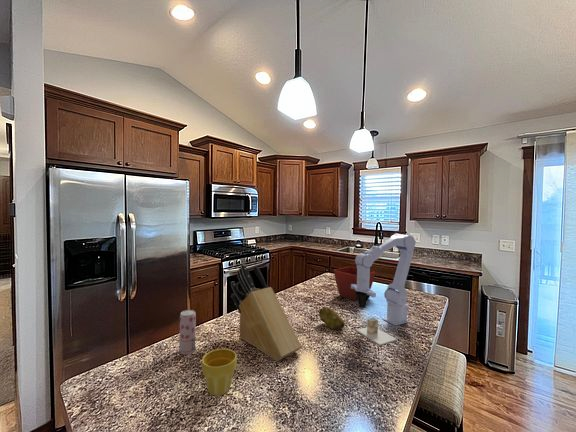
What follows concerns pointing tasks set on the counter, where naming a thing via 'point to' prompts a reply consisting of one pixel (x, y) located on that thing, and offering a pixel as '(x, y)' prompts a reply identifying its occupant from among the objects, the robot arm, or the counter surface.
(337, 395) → the counter surface
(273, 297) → the knife block
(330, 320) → the potato
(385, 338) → the mat
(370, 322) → the green-faced wooden block
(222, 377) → the plant pot
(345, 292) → the plant pot
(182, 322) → the beverage can
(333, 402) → the counter surface
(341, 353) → the counter surface
